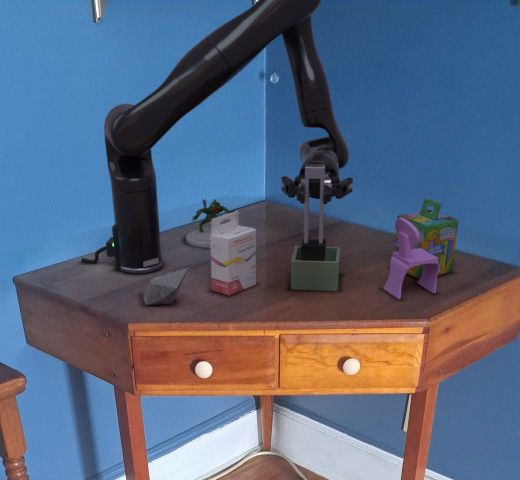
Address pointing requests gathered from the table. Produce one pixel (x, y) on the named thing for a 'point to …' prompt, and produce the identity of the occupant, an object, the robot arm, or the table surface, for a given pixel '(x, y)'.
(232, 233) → the ink cartridge box
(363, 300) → the table surface
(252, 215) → the table surface
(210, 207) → the monster figurine
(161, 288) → the grey faceted pointed rock
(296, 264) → the holder
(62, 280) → the table surface
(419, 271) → the chalk box
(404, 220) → the toy chair
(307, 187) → the tall two-post stand
